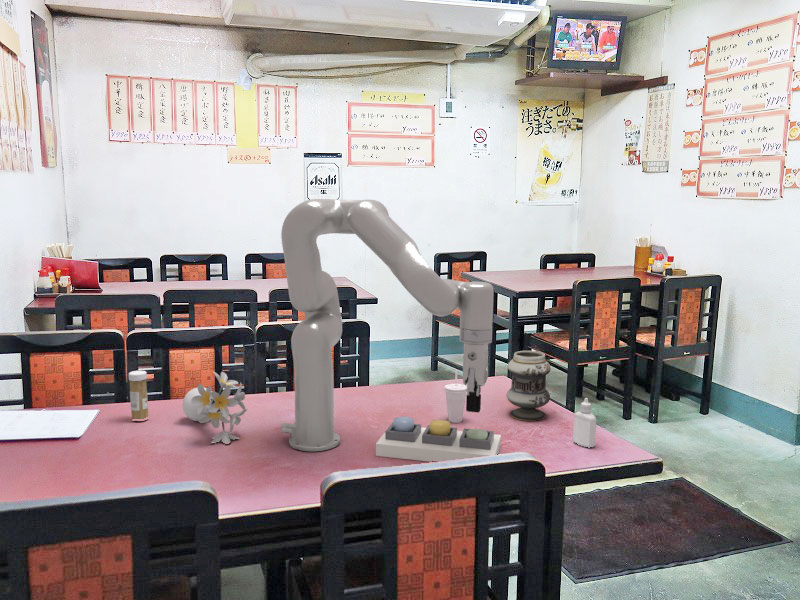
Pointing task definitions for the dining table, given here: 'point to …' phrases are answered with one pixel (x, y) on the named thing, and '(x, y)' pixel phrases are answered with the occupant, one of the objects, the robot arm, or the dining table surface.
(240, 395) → the flower vase
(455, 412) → the smoothie
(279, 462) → the dining table surface
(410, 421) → the blue button
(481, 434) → the sage button
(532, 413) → the apothecary jar
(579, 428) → the eye dropper bottle
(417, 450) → the button panel
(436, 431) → the mustard button
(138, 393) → the sprinkles bottle
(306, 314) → the robot arm
